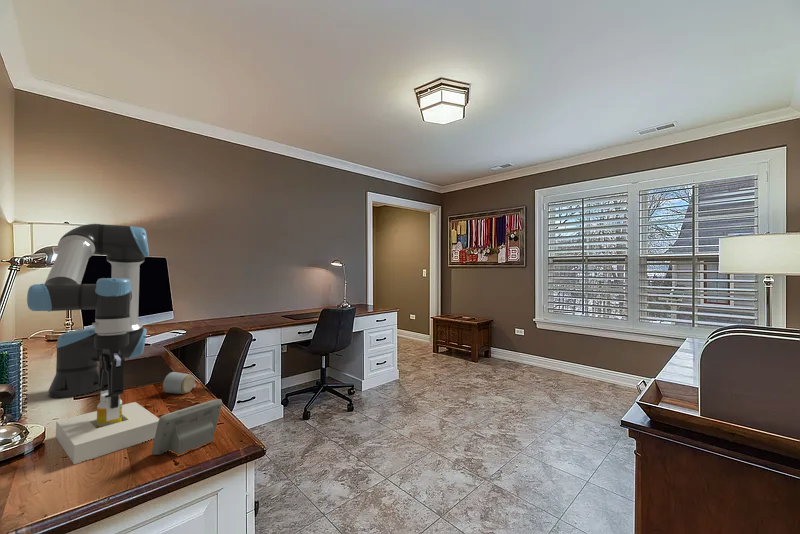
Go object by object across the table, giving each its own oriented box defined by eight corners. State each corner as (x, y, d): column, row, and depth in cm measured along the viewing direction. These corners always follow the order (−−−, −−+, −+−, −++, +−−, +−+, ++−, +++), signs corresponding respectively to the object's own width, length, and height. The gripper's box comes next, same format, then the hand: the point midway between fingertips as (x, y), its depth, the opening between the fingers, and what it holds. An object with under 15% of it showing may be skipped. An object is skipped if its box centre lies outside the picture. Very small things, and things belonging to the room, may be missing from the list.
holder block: (55, 437, 95) (56, 420, 95) (134, 416, 109) (135, 401, 109) (74, 464, 81) (74, 445, 82) (161, 436, 96) (161, 420, 96)
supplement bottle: (100, 425, 97) (101, 391, 97) (124, 422, 99) (125, 389, 99) (93, 434, 92) (94, 398, 92) (118, 430, 94) (119, 395, 94)
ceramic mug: (182, 396, 126) (183, 375, 127) (161, 395, 127) (162, 374, 127) (201, 388, 137) (202, 368, 137) (182, 386, 138) (183, 367, 138)
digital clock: (215, 430, 100) (216, 394, 100) (227, 441, 94) (228, 402, 94) (148, 450, 88) (149, 409, 89) (156, 464, 82) (157, 420, 82)
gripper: (86, 330, 98) (83, 412, 98) (104, 339, 87) (101, 430, 87) (118, 327, 104) (116, 404, 104) (139, 335, 93) (137, 420, 93)
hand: (109, 416), depth 95 cm, fingers closed on supplement bottle, 5 cm apart
